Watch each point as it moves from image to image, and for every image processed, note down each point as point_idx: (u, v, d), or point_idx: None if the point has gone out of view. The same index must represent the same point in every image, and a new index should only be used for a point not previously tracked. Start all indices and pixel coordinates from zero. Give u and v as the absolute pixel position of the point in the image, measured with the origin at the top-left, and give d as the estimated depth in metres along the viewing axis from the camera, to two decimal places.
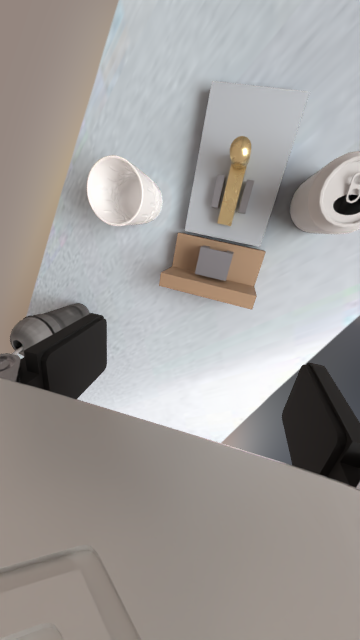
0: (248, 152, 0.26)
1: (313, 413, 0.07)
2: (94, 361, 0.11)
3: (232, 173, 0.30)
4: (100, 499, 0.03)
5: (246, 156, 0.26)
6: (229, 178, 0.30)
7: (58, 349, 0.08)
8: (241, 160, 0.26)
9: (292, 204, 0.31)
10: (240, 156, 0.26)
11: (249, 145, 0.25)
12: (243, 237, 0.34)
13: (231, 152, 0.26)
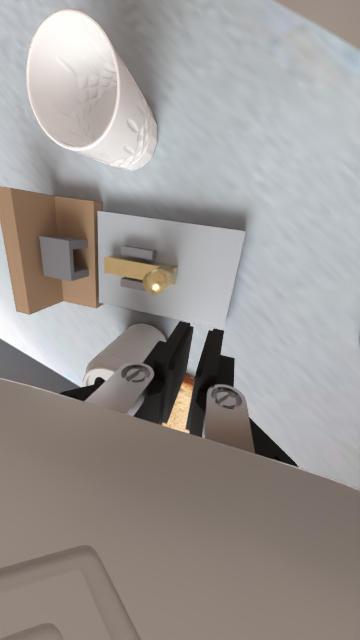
0: (151, 292, 0.23)
1: None
2: (184, 367, 0.11)
3: (152, 269, 0.27)
4: (100, 499, 0.03)
5: (147, 290, 0.23)
6: (147, 266, 0.27)
7: (177, 358, 0.08)
8: (144, 285, 0.23)
9: (137, 327, 0.32)
10: (147, 284, 0.23)
11: (157, 292, 0.23)
12: (103, 284, 0.31)
13: (150, 273, 0.23)
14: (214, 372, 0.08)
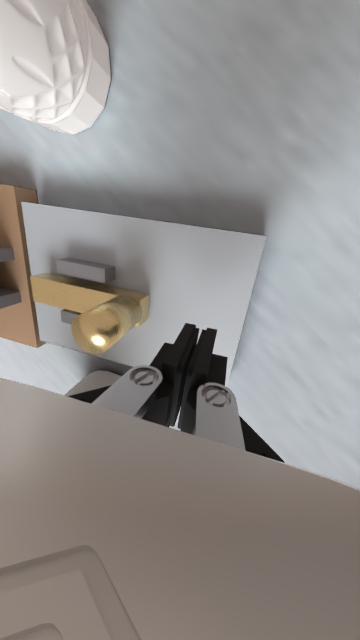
0: (87, 349, 0.13)
1: None
2: None
3: (104, 298, 0.16)
4: (100, 499, 0.03)
5: (81, 345, 0.13)
6: (96, 293, 0.16)
7: (185, 360, 0.08)
8: (74, 336, 0.12)
9: (95, 379, 0.21)
10: (79, 335, 0.12)
11: (98, 350, 0.12)
12: (43, 315, 0.20)
13: (82, 317, 0.12)
14: (205, 370, 0.08)
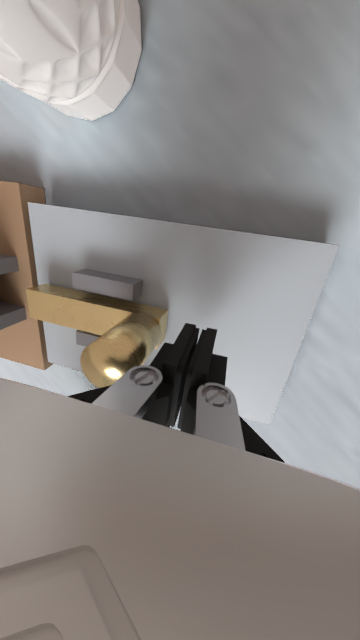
0: (101, 385, 0.10)
1: None
2: None
3: (115, 316, 0.13)
4: (100, 499, 0.03)
5: (93, 381, 0.10)
6: (106, 310, 0.13)
7: (185, 360, 0.08)
8: (84, 370, 0.10)
9: None
10: (90, 368, 0.10)
11: None
12: (52, 334, 0.18)
13: (95, 347, 0.09)
14: (205, 371, 0.08)
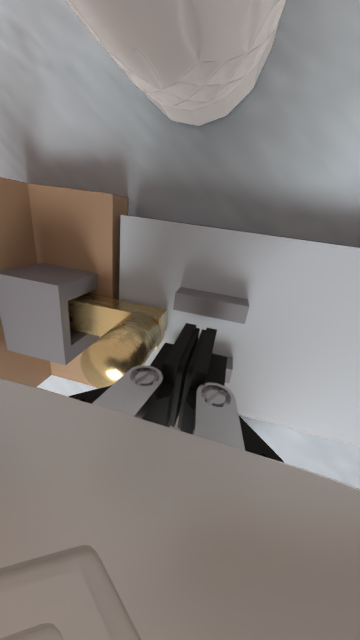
0: (101, 387, 0.10)
1: None
2: None
3: (114, 316, 0.13)
4: (100, 499, 0.03)
5: (93, 382, 0.10)
6: (105, 310, 0.13)
7: (186, 361, 0.08)
8: (84, 372, 0.10)
9: None
10: (91, 370, 0.10)
11: None
12: None
13: (95, 349, 0.09)
14: (204, 371, 0.08)
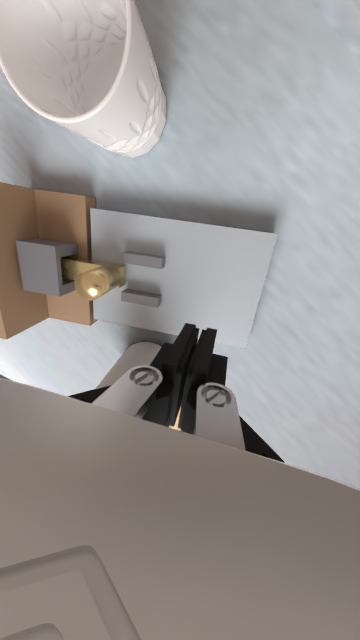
0: (86, 297, 0.19)
1: None
2: None
3: (93, 268, 0.22)
4: (100, 499, 0.03)
5: (81, 295, 0.19)
6: (87, 265, 0.22)
7: (185, 360, 0.08)
8: (76, 289, 0.19)
9: (141, 347, 0.27)
10: (80, 287, 0.19)
11: (93, 297, 0.19)
12: (99, 297, 0.26)
13: (82, 275, 0.18)
14: (205, 370, 0.08)
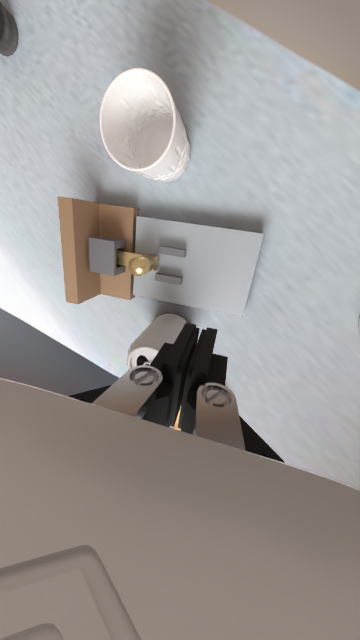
0: (134, 274, 0.30)
1: None
2: None
3: (137, 257, 0.33)
4: (100, 499, 0.03)
5: (132, 272, 0.30)
6: (133, 254, 0.33)
7: (185, 360, 0.08)
8: (129, 269, 0.30)
9: (166, 316, 0.37)
10: (131, 267, 0.29)
11: (139, 274, 0.29)
12: (138, 279, 0.36)
13: (133, 259, 0.29)
14: (205, 371, 0.08)
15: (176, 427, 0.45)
